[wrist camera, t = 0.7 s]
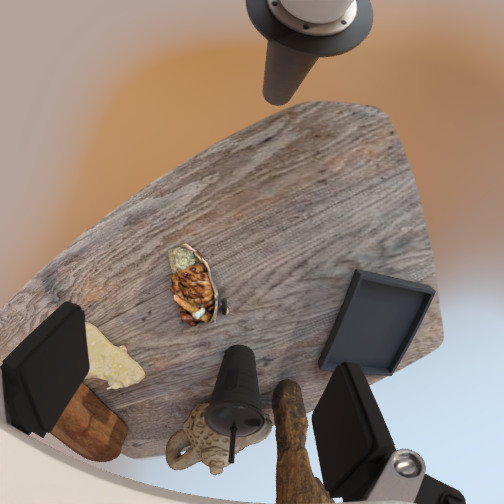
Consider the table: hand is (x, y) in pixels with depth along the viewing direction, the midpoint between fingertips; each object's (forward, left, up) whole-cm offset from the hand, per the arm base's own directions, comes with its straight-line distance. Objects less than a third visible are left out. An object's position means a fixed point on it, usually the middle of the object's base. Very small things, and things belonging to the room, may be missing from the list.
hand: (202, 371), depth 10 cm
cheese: (+26, -17, -30) cm, 43 cm away
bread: (+47, -27, -30) cm, 62 cm away
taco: (+12, -4, -30) cm, 32 cm away
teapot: (+37, +4, -30) cm, 48 cm away
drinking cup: (+23, +5, -30) cm, 38 cm away
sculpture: (+27, +15, -30) cm, 43 cm away
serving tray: (+13, +25, -30) cm, 41 cm away
